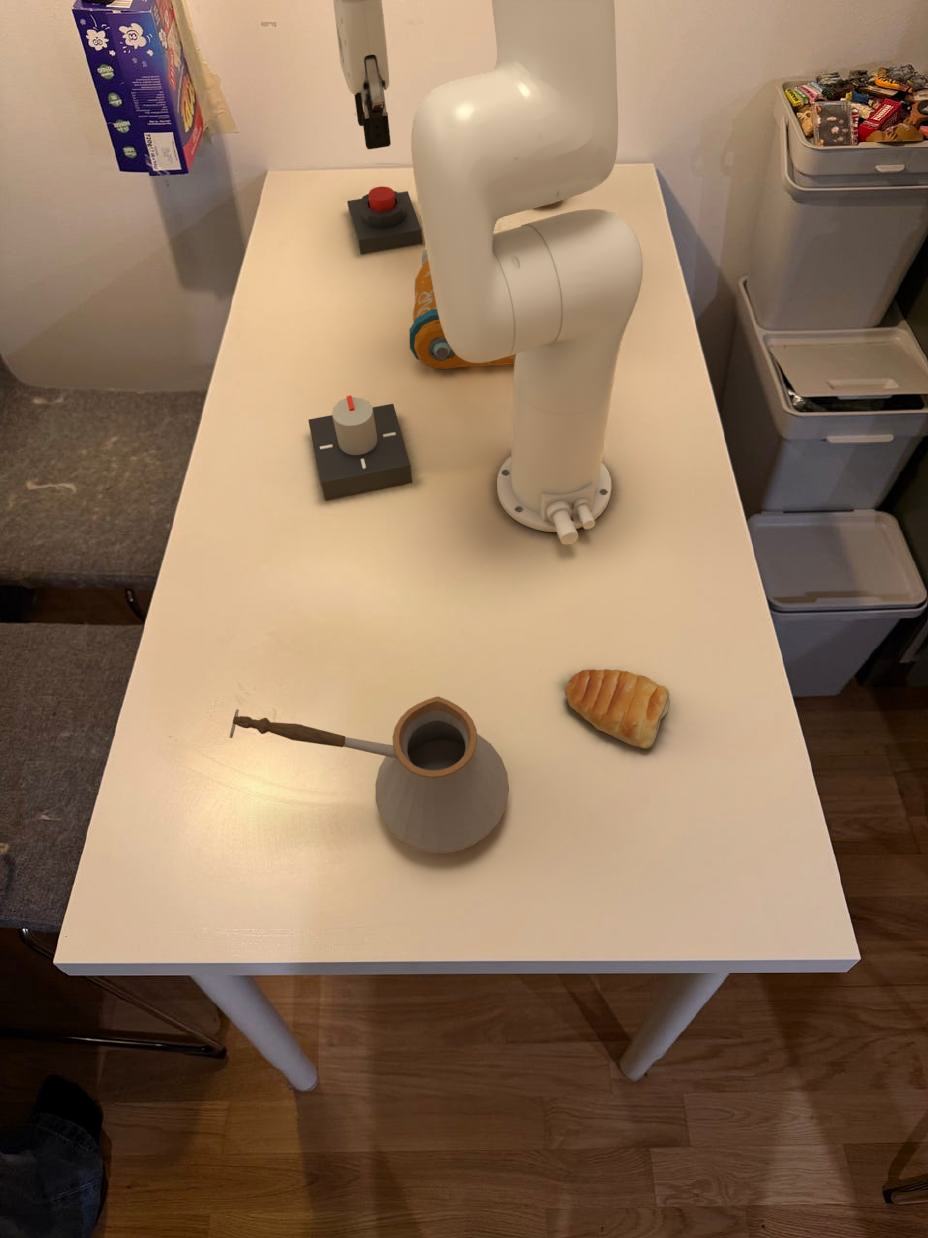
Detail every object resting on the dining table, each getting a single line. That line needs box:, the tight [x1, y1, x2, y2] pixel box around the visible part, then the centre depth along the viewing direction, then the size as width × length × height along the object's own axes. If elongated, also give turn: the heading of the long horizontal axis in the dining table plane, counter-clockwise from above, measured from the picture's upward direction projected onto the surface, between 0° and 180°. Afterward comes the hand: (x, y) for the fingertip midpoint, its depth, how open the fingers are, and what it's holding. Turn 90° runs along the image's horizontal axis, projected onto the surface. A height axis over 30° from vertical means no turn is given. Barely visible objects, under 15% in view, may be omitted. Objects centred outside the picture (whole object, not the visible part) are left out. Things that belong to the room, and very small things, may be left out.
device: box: [408, 249, 516, 369], centre depth 106 cm, size 23×8×30 cm
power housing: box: [346, 190, 424, 255], centre depth 120 cm, size 10×9×4 cm
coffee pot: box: [229, 696, 510, 854], centre depth 68 cm, size 21×12×15 cm, turn 87°
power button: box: [367, 185, 395, 212], centre depth 118 cm, size 4×4×2 cm
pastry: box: [564, 668, 671, 749], centre depth 77 cm, size 9×7×4 cm
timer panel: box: [307, 403, 413, 501], centre depth 95 cm, size 10×10×3 cm
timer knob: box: [331, 394, 378, 455], centre depth 92 cm, size 4×4×5 cm
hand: (374, 133), depth 110 cm, fingers open, 5 cm apart
